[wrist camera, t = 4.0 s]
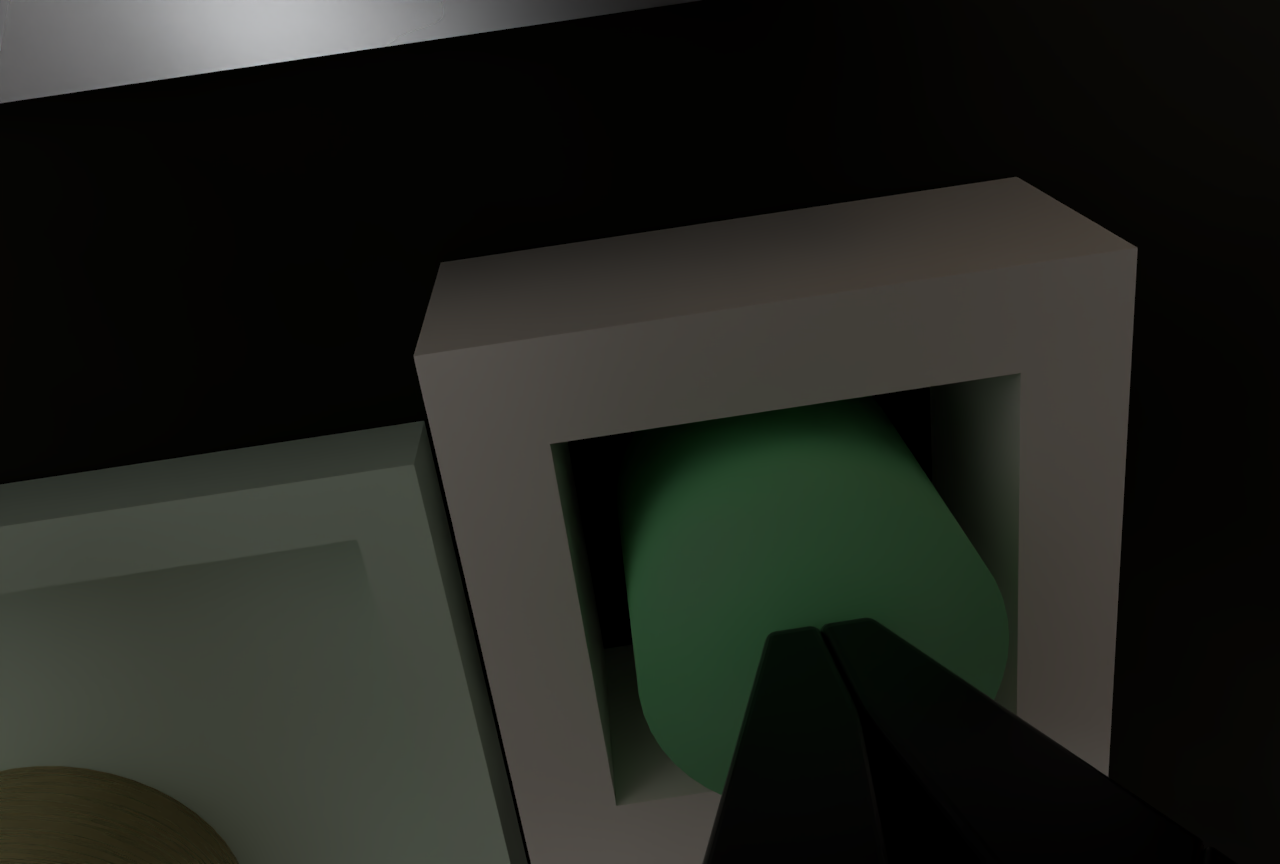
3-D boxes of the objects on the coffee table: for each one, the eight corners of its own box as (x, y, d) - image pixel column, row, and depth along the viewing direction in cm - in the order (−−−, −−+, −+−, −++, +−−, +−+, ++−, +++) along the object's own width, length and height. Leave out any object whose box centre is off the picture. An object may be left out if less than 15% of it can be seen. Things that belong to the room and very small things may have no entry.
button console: (1012, 650, 13) (1106, 802, 11) (538, 722, 13) (537, 890, 11) (1016, 176, 11) (1137, 247, 9) (440, 261, 11) (413, 355, 9)
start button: (908, 591, 13) (1009, 782, 10) (637, 633, 13) (661, 835, 10) (898, 335, 11) (1010, 473, 9) (597, 380, 11) (611, 534, 9)
